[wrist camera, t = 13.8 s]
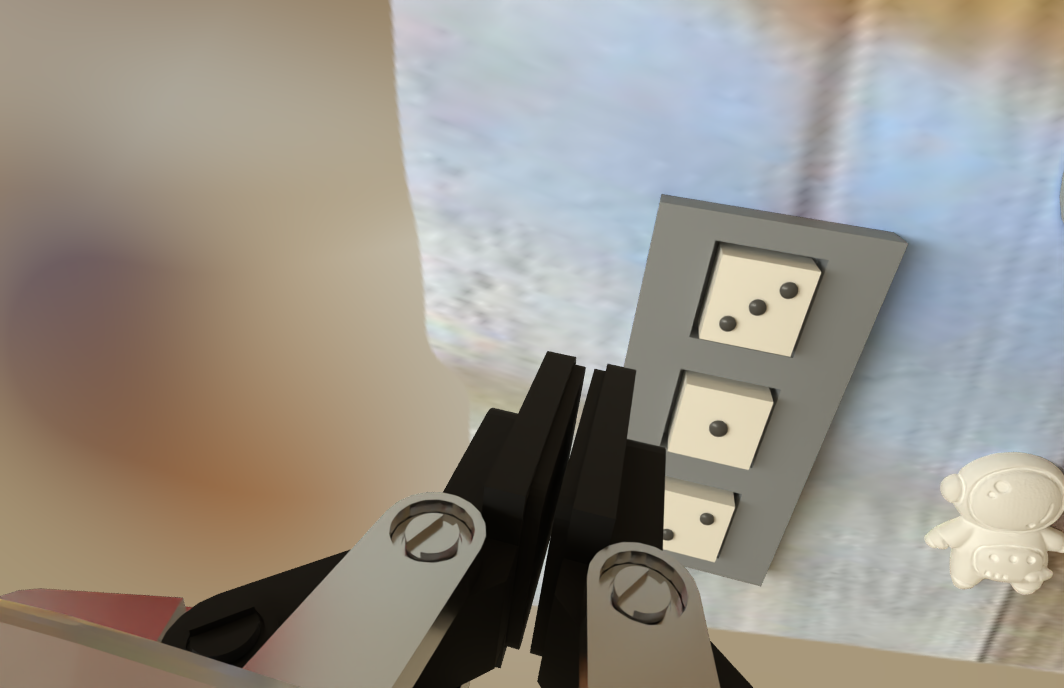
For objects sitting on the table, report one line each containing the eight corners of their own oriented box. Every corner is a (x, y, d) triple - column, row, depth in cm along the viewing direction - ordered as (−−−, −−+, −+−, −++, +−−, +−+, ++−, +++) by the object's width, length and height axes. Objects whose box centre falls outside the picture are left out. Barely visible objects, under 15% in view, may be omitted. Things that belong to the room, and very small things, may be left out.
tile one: (767, 380, 40) (773, 404, 37) (744, 445, 42) (749, 471, 40) (686, 363, 41) (686, 385, 38) (668, 427, 43) (667, 452, 40)
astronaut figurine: (910, 571, 45) (925, 603, 42) (949, 443, 40) (968, 470, 37) (1041, 588, 43) (1066, 622, 40) (1100, 455, 38) (1132, 484, 35)
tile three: (810, 257, 36) (822, 273, 33) (782, 336, 38) (790, 358, 36) (719, 241, 37) (722, 255, 34) (697, 320, 39) (699, 339, 36)
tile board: (893, 232, 35) (908, 243, 32) (757, 562, 47) (760, 586, 45) (661, 194, 37) (660, 202, 35) (590, 519, 49) (586, 540, 47)
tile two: (731, 480, 44) (735, 509, 41) (712, 534, 46) (714, 564, 44) (658, 463, 45) (657, 489, 42) (643, 517, 47) (641, 545, 45)
